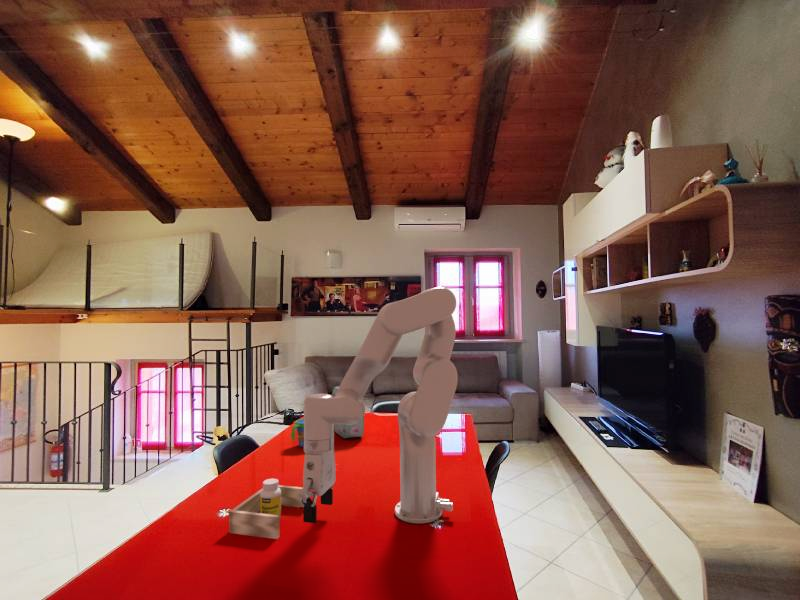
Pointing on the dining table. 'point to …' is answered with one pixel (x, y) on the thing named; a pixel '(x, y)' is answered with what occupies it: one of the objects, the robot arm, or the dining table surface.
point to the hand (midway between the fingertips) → (318, 512)
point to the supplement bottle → (270, 498)
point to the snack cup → (298, 432)
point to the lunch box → (349, 430)
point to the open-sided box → (261, 514)
